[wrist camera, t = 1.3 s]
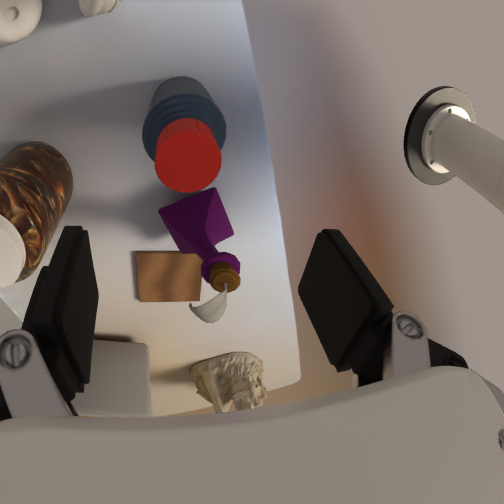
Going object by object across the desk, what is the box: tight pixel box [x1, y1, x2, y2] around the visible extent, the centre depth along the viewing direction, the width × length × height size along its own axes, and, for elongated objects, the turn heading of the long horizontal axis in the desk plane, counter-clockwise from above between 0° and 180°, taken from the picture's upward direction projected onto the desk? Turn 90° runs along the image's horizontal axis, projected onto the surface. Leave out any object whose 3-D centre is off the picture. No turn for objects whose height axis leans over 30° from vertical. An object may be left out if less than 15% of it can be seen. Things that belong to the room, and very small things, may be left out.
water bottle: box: [142, 77, 226, 162], centre depth 24 cm, size 6×6×18 cm
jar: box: [0, 142, 73, 288], centre depth 26 cm, size 12×12×15 cm
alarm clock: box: [71, 340, 152, 417], centre depth 49 cm, size 20×16×18 cm
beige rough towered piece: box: [190, 352, 267, 413], centre depth 63 cm, size 16×16×15 cm
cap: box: [155, 118, 222, 193], centre depth 18 cm, size 4×4×3 cm
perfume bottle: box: [158, 187, 241, 323], centre depth 34 cm, size 8×8×18 cm
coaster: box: [136, 251, 203, 302], centre depth 47 cm, size 10×10×1 cm
